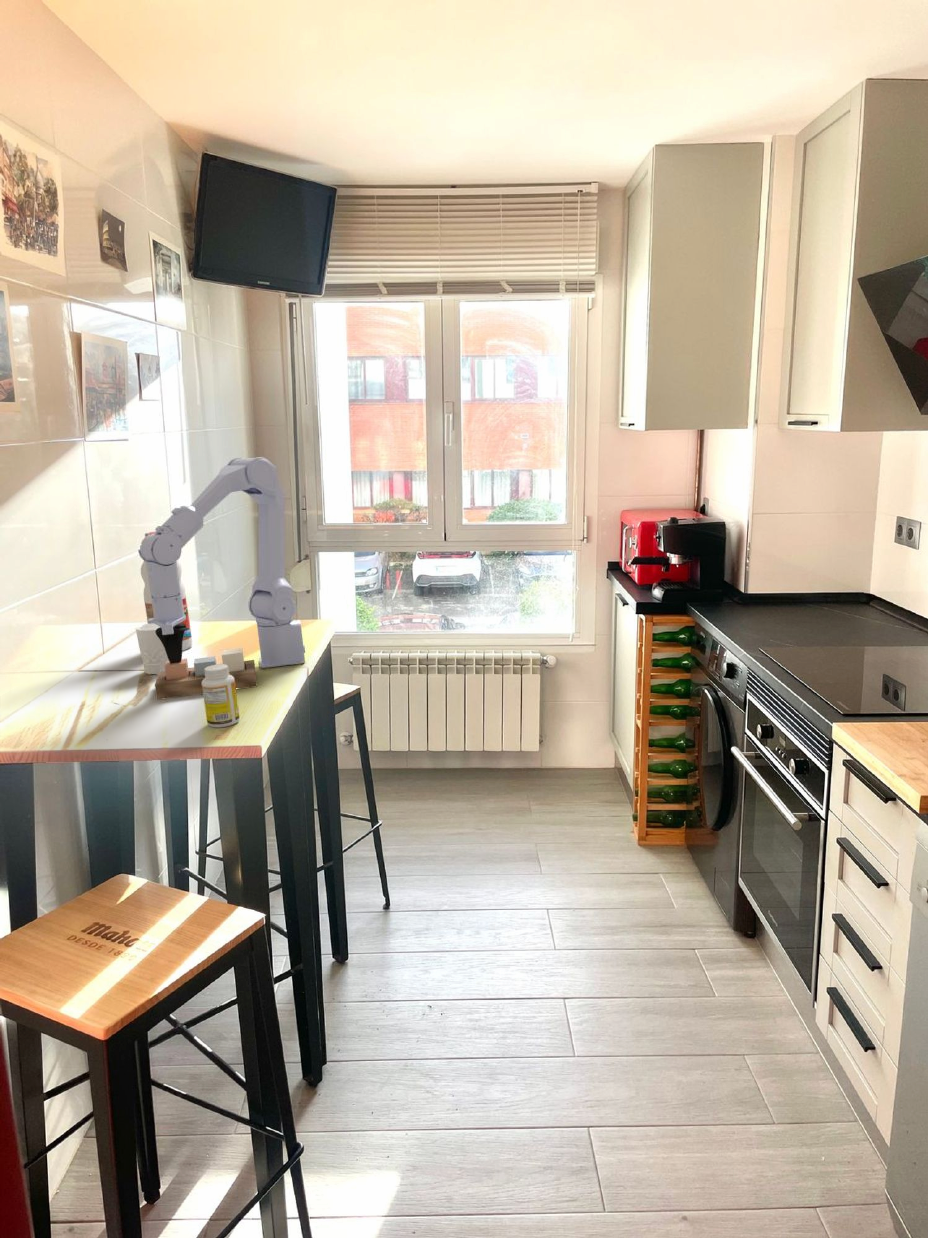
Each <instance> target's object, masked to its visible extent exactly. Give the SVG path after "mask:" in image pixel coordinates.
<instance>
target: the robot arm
mask: <svg viewBox="0 0 928 1238" xmlns="http://www.w3.org/2000/svg"><path fill="white" fill-rule="evenodd" d="M278 474H279V473H278V468H277V467H276V466H275V464H273V463H272V462H271V461H270V460H269V459H267V458H265V457H262V456H259V457H251V458H250V457H249V458H248V457H246V458H241V457H236V458H233V459H231V460H229V462H228V463H227V464H226V465H224V466H223V467H222V468H221V469H220V470H219V472H218V474H217V475H216V476H215V477H214V479H213V480H212V481H211V482H210V483H209V484H208V485H207V486H206V488H205V489H204V490H203V491H202V492H201V493H200V494H199V495H198V496H197V498H196V499H195V500H194V501H193V502H192V503H191V505H189V506H187V505H181V506H180V507H175V508H173V509H172V510H171V514H172V515H171V516H169V518H168V519H167V520H166V521H164V523H162V524H161V525H158V526H157V527H155V529H154V530H155V532H156V534H152V535H148V536H146V537H145V536H144V538H143V539H142V541H141V542H140V544H141V545H140V546H139V549H138V550H137V552H138V555H139V557H140V559H141V560H142V561H143V562H144V561H145V563H146V566H147V573H148V580H149V587H150V594H151V600H152V607H153V614H154V618H150V619H148V621H147V624H148V623H149V624H152V623H154V624H156V625H158V626H160V628H157V629H156V631H155V632H156V635H157V636H158V638H159V639H160V640H161V642H162V644H163V646H164V648H165V651H166V654H167V657H168V659H169V662H170V663H179V662H181V660H182V659H183V651H182V643H183V635H184V632H185V629H186V624H179V623H181V622H182V621H184V620H186V616H185V615H184V609H183V601H182V594H181V587H180V580H179V573H178V567H177V560H178V561H179V559H180V558H181V555H182V549H183V548H184V547H185V545H187V543H189V542H190V541H191V540H192V539H193V538H194V537H195V535H196V534H198V532H199V531H201V529H202V528H203V527H204V518H205V517H206V516H207V515H208V514H209V513H210V512H211V511H212V510H213V509H214V508H215V507H217V506H219V504H220V503H221V502H222V501H223V500H225V498H227V497H228V496H229V495H230V494H232V493H236V492H244V493H246V494H247V495H249V497H250V498H251V499H253V501H254V502H256V504H257V511H258V513H257V518H258V519H257V521H258V523H257V531H258V532H257V534H258V535H257V541H258V542H257V545H258V546H257V549H258V551H257V557H258V559H257V560H258V561H257V566H258V567H257V568H258V569H257V571H258V572H257V573H258V574H257V575H258V576H257V579H256V580H255V582H254V583H253V584H252V588H251V589H252V592H251V594H250V595H251V596H250V598H249V600H248V610H249V612H250V613H249V614H251V616H253V617H254V618H255V622H256V626H257V634H258V643H259V651H260V658H258V659H259V668H260V669H268V668H275V667H282V666H291V665H299V664H305V663H306V659H305V654H306V647H305V644H304V639H303V631H302V625H301V624H302V623H301V620H300V619H297V620H295V619H294V620H292V619H293V618H294V616H295V614H296V609H297V605H296V601H295V599H294V596H293V587H292V586H291V585H290V584H289V582H288V581H287V580H286V578H285V541H286V540H285V535H286V534H285V521H286V520H285V518H286V517H285V514H286V513H285V511H286V509H285V507H286V506H285V503H286V502H285V501H286V500H285V493H284V490H283V488H282V485H281V482H280V481H279V478H278V477H279V476H278Z"/></svg>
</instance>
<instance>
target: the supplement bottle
mask: <svg viewBox="0 0 928 1238" xmlns="http://www.w3.org/2000/svg"><path fill="white" fill-rule="evenodd" d="M204 670H205V677H206V678H205V679H203V681H202V690H203V694H202V695H203V702H204V710H205V716H206V722H207V725H208V726H209V727H211V728H225V727H230V726H233V725H236V724H237V723H238V722H239V721H240V711H239V704H238V696H237V689H236V688H235V680H234V677H233V676H232V675H229V670H228V666H227V665H224V664H223V663H219V664H218V665H217V664H216V665H211V666H208V667H206V668H205V669H204Z"/></svg>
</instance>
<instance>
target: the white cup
mask: <svg viewBox="0 0 928 1238" xmlns="http://www.w3.org/2000/svg"><path fill="white" fill-rule="evenodd" d="M157 628H160V626H158V625H156V624H154V623H152V624H148V623H145V624H142V625H139V626H137V627H136V628H135V632H136V637H137V642H138V643H137V644H138V648H139V652H140V657H141V661H142V663H143V668H144V673H145V674H146V673H148V674H147V675H151V674H156V675H158V673H159V672H160V671H165V663H166V661H169V659H168V657H167V654H166V651H165V648H164V646H163V644H162V642H161V640H160V639H159V638H158V636H157V635H156V632H155V631H156V629H157Z"/></svg>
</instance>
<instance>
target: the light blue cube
mask: <svg viewBox="0 0 928 1238" xmlns="http://www.w3.org/2000/svg"><path fill="white" fill-rule="evenodd" d="M211 665H217V661H216V655H215V656H207V657H199V658H194V661H193V667H194V669H195V676H201V675H205V670H204V669H205V668H206V667H208V666H211Z"/></svg>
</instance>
